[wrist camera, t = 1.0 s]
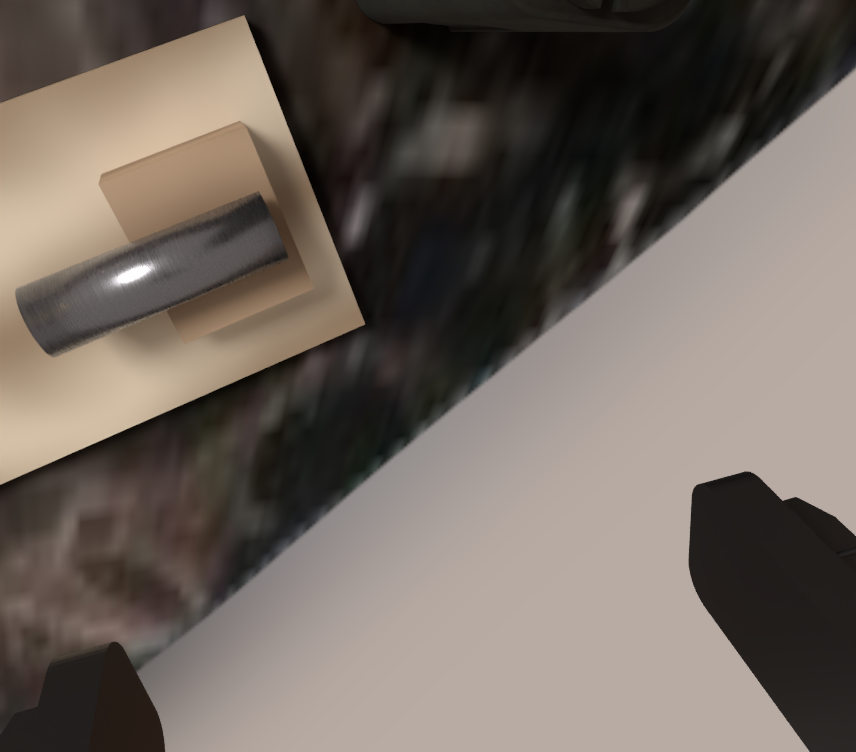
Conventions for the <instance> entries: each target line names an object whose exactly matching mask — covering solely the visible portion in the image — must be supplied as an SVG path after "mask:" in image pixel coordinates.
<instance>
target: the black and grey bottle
mask: <svg viewBox="0 0 856 752" xmlns="http://www.w3.org/2000/svg"><path fill="white" fill-rule="evenodd" d="M356 2H357V4H358V5H359V7H360V9H361V11H362V12H363V13H364V14H365V15H366V16H367V17H368V18H370V19H372V20H373V21H375V22H378V23H382V24H401V23H428V24H437V25H445V26H448V28H449V30H450V31H451V32H654V31H657V30H660V29H663V28H665V27H667V26H669V25H670V24H671V23H673V22H674V21H676V20H677V19H678V18H679V17H680V16H681V15H682V13H683V12H684V11H685V10H686V9H687V7H688V5H689V3H690V2H691V0H356Z"/></svg>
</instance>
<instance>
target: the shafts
mask: <svg viewBox="0 0 856 752" xmlns="http://www.w3.org/2000/svg"><path fill="white" fill-rule="evenodd" d="M287 260H289V257H288V254H287V252H286V249H285V246H284V244H283V241H282V239H281V237H280V234H279V232H278V230H277V227H276V225H275V223H274V221H273V218H272V216H271V214H270V212H269V210H268V208H267V206H266V203H265V201H264V199H263V197H262V196H261V194H260V192H259V191H257V192H255V193H252V194H250V195H247V196H245V197H242V198H240V199H238V200H235V201H233V202H230V203H228V204H225V205H223V206H220V207H218V208H215V209H213V210H210V211H208V212H205V213H203V214H200V215H198V216H195V217H193V218H190V219H188V220H185V221H183V222H180V223H178V224H175V225H173V226H170V227H168V228H165V229H163V230H160V231H158V232H155V233H153V234H150V235H148V236H145V237H143V238H140V239H138V240H135V241H133V242H130V243H128V244H125V245H123V246H120V247H118V248H115V249H113V250H110V251H108V252H105V253H103V254H100V255H98V256H95V257H93V258H90V259H88V260H85V261H83V262H80V263H78V264H75V265H73V266H70V267H68V268H65V269H63V270H60V271H58V272H55V273H53V274H50V275H48V276H45V277H43V278H40V279H38V280H35V281H33V282H30V283H28V284H25V285H23V286H20V287H18V288H16V290H15V297H16V302H17V305H18V308H19V311H20V313H21V316H22V318H23V320H24V322H25V324H26V326H27V328H28V329H29V331H30V333H31V334H32V336H33V338H34V339H35V340H36V342H37V343H38V344H39V346H40V347H41V348H42V349H43V350H44V351H45V352H46V353H47V354H48V355H49V356H51V357H57V356H60V355H62V354H65V353H67V352H69V351H72V350H74V349H77V348H79V347H81V346H84V345H86V344H89V343H91V342H93V341H96V340H98V339H101V338H103V337H105V336H108V335H110V334H112V333H115V332H117V331H120V330H122V329H124V328H127V327H129V326H132V325H134V324H136V323H139V322H141V321H144V320H146V319H148V318H151V317H153V316H156V315H158V314H160V313H163V312H165V311H168V310H170V309H172V308H175V307H177V306H179V305H182V304H184V303H187V302H189V301H191V300H194V299H196V298H199V297H201V296H203V295H206V294H208V293H211V292H213V291H215V290H218V289H220V288H223V287H225V286H227V285H230V284H232V283H234V282H237V281H239V280H242V279H244V278H246V277H249V276H251V275H254V274H256V273H258V272H261V271H263V270H266V269H268V268H270V267H273V266H275V265H278V264H280V263H282V262H285V261H287Z"/></svg>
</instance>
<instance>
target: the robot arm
mask: <svg viewBox="0 0 856 752" xmlns="http://www.w3.org/2000/svg"><path fill="white" fill-rule="evenodd" d="M689 569H690V575H691V578H692V582H693V585H694V587H695V589H696V592H697V594H698V596H699V598H700V600H701V602H702V603H703V605H704V606H705V608H706V609H707V611H708V612H709V613H710V615H711V616H712V617H713V619H714V620H715V622H716V623H717V624H718V626H719V627H720V629H721V630H722V631H723V633H724V634H725V635H726V637H727V638H728V640H729V641H730V642H731V644H732V645H733V646H734V648H735V649H736V650H737V652H738V653H739V655H740V656H741V657H742V659H743V660H744V662H745V663H746V664H747V666H748V667H749V668H750V670H751V671H752V673H753V674H754V675H755V677H756V678H757V679H758V681H759V682H760V684H761V685H762V686H763V688H764V689H765V690H766V692H767V693H768V695H769V696H770V697H771V699H772V700H773V702H774V703H775V704H776V706H777V707H778V709H779V710H780V711H781V713H782V714H783V715H784V717H785V718H786V720H787V721H788V722H789V723H790V725H791V726H792V728H793V729H794V731H795V732H796V733H797V735H798V736H799V737H800V739H801V740H802V742H803V743H804V744H805V746H806V747H807V748H808V750H809V751H810V752H856V536H855V535H854V534H853V533H852V532H851V531H849V530H848V529H847V528H846V527H845V526H844V525H843V524H842V523H841V522H840V521H839V520H838V519H837V518H836V517H834V516H832V515H830V514H828V513H826V512H824V511H822V510H821V509H819V508H816V507H815V506H813V505H811V504H809V503H807V502H805V501H803V500H801V499H799V498H797V497H795V498H791V499H787V500H784V501H782V500H781V499H780V498H779V497H778V496H777V495H776V494H775V493H774V492H773V491H772V490H771V489H770V488H769V487H768V486H767V485H766V484H765V483H764V482H763V481H762V480H761V479H760V478H759V477H758V476H756V475H755V474H753V473H751V472H742V473H738V474H735V475H731V476H727V477H724V478H720V479H717V480H713V481H709V482H706V483H702V484H698V485H696V487H695V488H694V489H693V493H692V506H691V525H690V545H689ZM0 752H165V744H164V736H163V730H162V726H161V722H160V719H159V716H158V713H157V711H156V709H155V707H154V705H153V703H152V701H151V699H150V697H149V696H148V694H147V692H146V690H145V688H144V686H143V684H142V682H141V681H140V679H139V677H138V675H137V673H136V671H135V669H134V667H133V665H132V663H131V662H130V660H129V658H128V656H127V654H126V652H125V650H124V649H123V647H122V646H121V645H120V644H119V643H118V642H111V643H108V644H104V645H100V646H97V647H93V648H89V649H86V650H82V651H78V652H75V653H71V654H67V655H64V656H60V657H56V658H55V659H53V660H52V662H51V663H50V665H49V667H48V670H47V673H46V677H45V681H44V685H43V688H42V692H41V696H40V700H39V704H38V707H36V708H32V709H29V710H25V711H21V712H18V713H15V714H14V716H13V717H12V719H11V720H10V722H9V723H8V724H7V726H6V727H5V729H4V730H3V732H2V733H1V735H0Z"/></svg>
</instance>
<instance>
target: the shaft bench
mask: <svg viewBox="0 0 856 752" xmlns="http://www.w3.org/2000/svg"><path fill="white" fill-rule="evenodd" d="M257 191H259V192H260V194H261V196H262V197H263V199H264V201H265V203H266V206H267V208H268V210H269V212H270V214H271V216H272V218H273V221H274V223H275V225H276V227H277V230H278V232H279V234H280V237H281V239H282V241H283V244H284V246H285V249H286V252H287V254H288V257H289V260H287V261H285V262H282V263H280V264H278V265H275V266H273V267H270V268H268V269H266V270H263V271H261V272H258V273H256V274H254V275H251V276H249V277H246V278H244V279H242V280H239V281H237V282H234V283H232V284H230V285H227V286H225V287H223V288H220V289H218V290H215V291H213V292H211V293H208V294H206V295H203V296H201V297H199V298H196V299H194V300H191V301H189V302H187V303H184V304H182V305H179V306H177V307H175V308H172V309H170V310H168V311H165V312H163V313H160V314H158V315H156V316H153V317H151V318H148V319H146V320H144V321H141V322H139V323H136V324H134V325H132V326H129V327H127V328H124V329H122V330H120V331H117V332H115V333H112V334H110V335H108V336H105V337H103V338H101V339H98V340H96V341H93V342H91V343H89V344H86V345H84V346H81V347H79V348H77V349H74V350H72V351H69V352H67V353H65V354H62V355H60V356H57V357H51V356H49V355H48V354H47V353H46V352H45V351H44V350H43V349H42V348H41V347H40V346H39V344H38V343H37V342H36V340H35V339H34V338H33V336H32V334H31V333H30V331H29V329H28V328H27V326H26V324H25V322H24V320H23V318H22V316H21V313H20V311H19V308H18V305H17V302H16V297H15V290H16V288H18V287H20V286H23V285H25V284H28V283H30V282H33V281H35V280H38V279H40V278H43V277H45V276H48V275H50V274H53V273H55V272H58V271H60V270H63V269H65V268H68V267H70V266H73V265H75V264H78V263H80V262H83V261H85V260H88V259H90V258H93V257H95V256H98V255H100V254H103V253H105V252H108V251H110V250H113V249H115V248H118V247H120V246H123V245H125V244H128V243H130V242H133V241H135V240H138V239H140V238H143V237H145V236H148V235H150V234H153V233H155V232H158V231H160V230H163V229H165V228H168V227H170V226H173V225H175V224H178V223H180V222H183V221H185V220H188V219H190V218H193V217H195V216H198V215H200V214H203V213H205V212H208V211H210V210H213V209H215V208H218V207H220V206H223V205H225V204H228V203H230V202H233V201H235V200H238V199H240V198H242V197H245V196H247V195H250V194H252V193H255V192H257ZM363 325H365V322H364V320H363V317H362V315H361V312H360V310H359V307H358V304H357V302H356V299H355V297H354V294H353V292H352V289H351V287H350V284H349V281H348V279H347V276H346V274H345V271H344V269H343V266H342V264H341V261H340V258H339V256H338V253H337V251H336V248H335V246H334V243H333V241H332V238H331V235H330V233H329V230H328V228H327V225H326V223H325V220H324V218H323V215H322V212H321V210H320V207H319V205H318V202H317V200H316V197H315V195H314V192H313V189H312V187H311V184H310V182H309V179H308V177H307V174H306V172H305V169H304V166H303V164H302V161H301V159H300V156H299V154H298V151H297V149H296V146H295V143H294V141H293V138H292V136H291V133H290V131H289V128H288V126H287V123H286V120H285V118H284V115H283V113H282V110H281V108H280V105H279V103H278V100H277V97H276V95H275V92H274V90H273V87H272V85H271V82H270V80H269V77H268V74H267V72H266V69H265V67H264V64H263V62H262V59H261V57H260V54H259V51H258V49H257V46H256V44H255V41H254V39H253V36H252V34H251V31H250V28H249V26H248V23H247V21H246V18H245V16H240V17H237V18H234V19H231V20H229V21H226V22H223V23H220V24H218V25H215V26H212V27H209V28H207V29H204V30H201V31H198V32H195V33H193V34H190V35H187V36H184V37H182V38H179V39H176V40H173V41H171V42H168V43H165V44H162V45H159V46H157V47H154V48H151V49H148V50H146V51H143V52H140V53H137V54H135V55H132V56H129V57H126V58H124V59H121V60H118V61H115V62H112V63H110V64H107V65H104V66H101V67H99V68H96V69H93V70H90V71H88V72H85V73H82V74H79V75H76V76H74V77H71V78H68V79H65V80H63V81H60V82H57V83H54V84H52V85H49V86H46V87H43V88H41V89H38V90H35V91H32V92H29V93H27V94H24V95H21V96H18V97H16V98H13V99H10V100H7V101H5V102H2V103H0V485H1V484H3V483H5V482H8V481H10V480H12V479H14V478H17V477H19V476H21V475H23V474H26V473H28V472H30V471H33V470H35V469H37V468H39V467H42V466H44V465H46V464H48V463H51V462H53V461H55V460H58V459H60V458H62V457H64V456H67V455H69V454H71V453H73V452H76V451H78V450H80V449H83V448H85V447H87V446H89V445H92V444H94V443H96V442H99V441H101V440H103V439H105V438H108V437H110V436H112V435H114V434H117V433H119V432H121V431H124V430H126V429H128V428H130V427H133V426H135V425H137V424H139V423H142V422H144V421H146V420H149V419H151V418H153V417H155V416H158V415H160V414H162V413H165V412H167V411H169V410H171V409H174V408H176V407H178V406H180V405H183V404H185V403H187V402H190V401H192V400H194V399H196V398H199V397H201V396H203V395H205V394H208V393H210V392H212V391H215V390H217V389H219V388H221V387H224V386H226V385H228V384H231V383H233V382H235V381H237V380H240V379H242V378H244V377H246V376H249V375H251V374H253V373H256V372H258V371H260V370H262V369H265V368H267V367H269V366H271V365H274V364H276V363H278V362H281V361H283V360H285V359H287V358H290V357H292V356H294V355H297V354H299V353H301V352H303V351H306V350H308V349H310V348H312V347H315V346H317V345H319V344H322V343H324V342H326V341H328V340H331V339H333V338H335V337H337V336H340V335H342V334H344V333H347V332H349V331H351V330H353V329H356V328H358V327H360V326H363Z"/></svg>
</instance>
